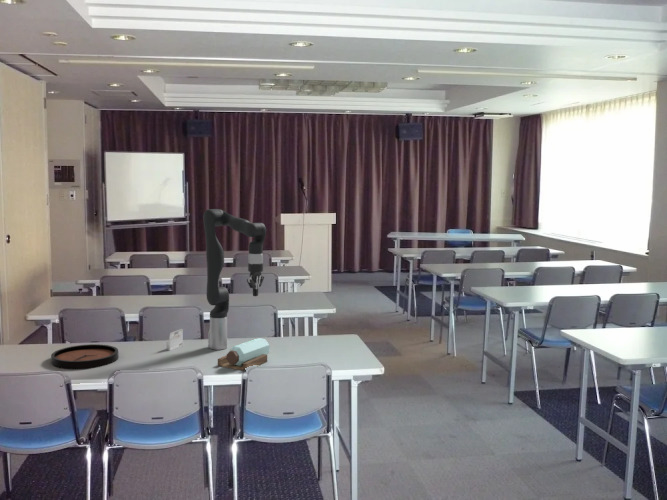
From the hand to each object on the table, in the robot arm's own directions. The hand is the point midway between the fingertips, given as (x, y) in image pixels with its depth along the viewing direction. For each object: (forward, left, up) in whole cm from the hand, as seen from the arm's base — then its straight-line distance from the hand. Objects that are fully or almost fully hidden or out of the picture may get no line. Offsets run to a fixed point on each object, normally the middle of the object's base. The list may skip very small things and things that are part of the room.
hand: (255, 295), depth 318 cm
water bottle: (+2, +4, -27) cm, 28 cm away
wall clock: (-72, -44, -33) cm, 91 cm away
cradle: (0, -11, -33) cm, 34 cm away
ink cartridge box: (-48, -5, -33) cm, 58 cm away
